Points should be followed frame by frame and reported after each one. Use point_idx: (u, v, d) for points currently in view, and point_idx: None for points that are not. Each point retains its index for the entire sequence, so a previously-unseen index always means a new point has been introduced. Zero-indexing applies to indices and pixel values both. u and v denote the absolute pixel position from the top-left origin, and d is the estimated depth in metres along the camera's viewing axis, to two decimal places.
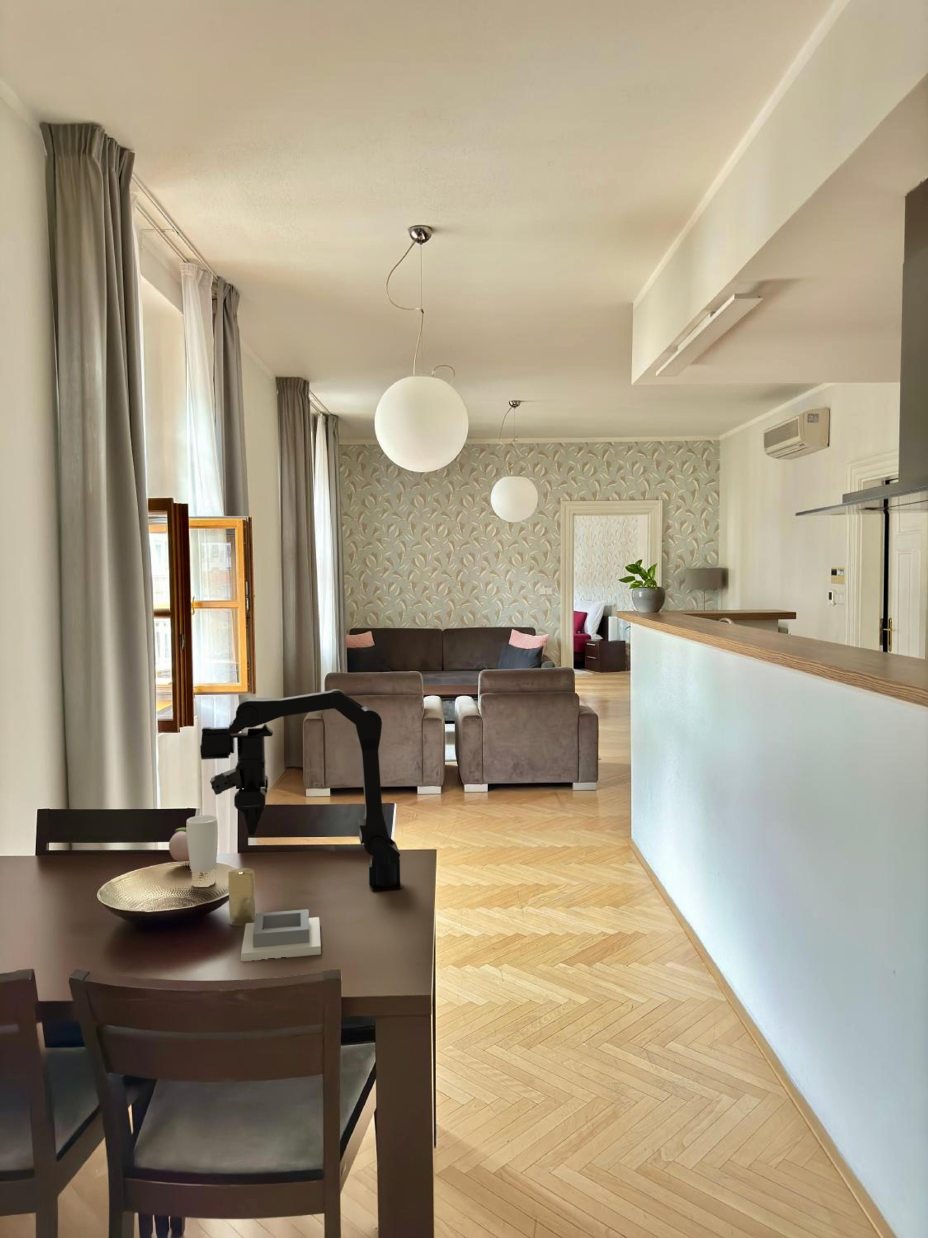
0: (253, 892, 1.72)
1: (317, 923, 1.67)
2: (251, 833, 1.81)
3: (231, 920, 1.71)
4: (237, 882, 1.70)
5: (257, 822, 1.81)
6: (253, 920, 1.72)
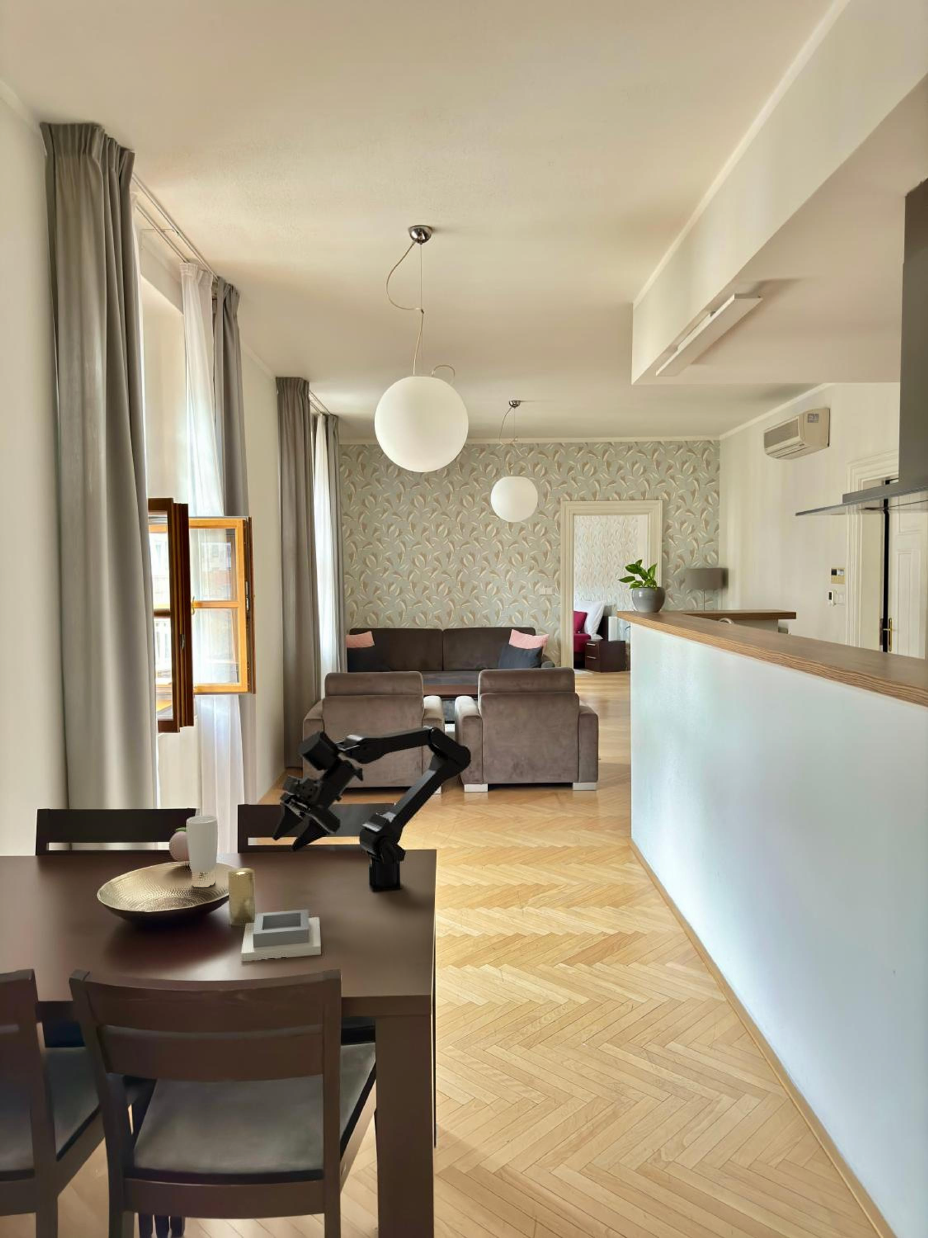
0: (253, 892, 1.72)
1: (317, 923, 1.67)
2: (294, 848, 1.74)
3: (231, 920, 1.71)
4: (237, 882, 1.70)
5: (307, 843, 1.75)
6: (253, 920, 1.72)
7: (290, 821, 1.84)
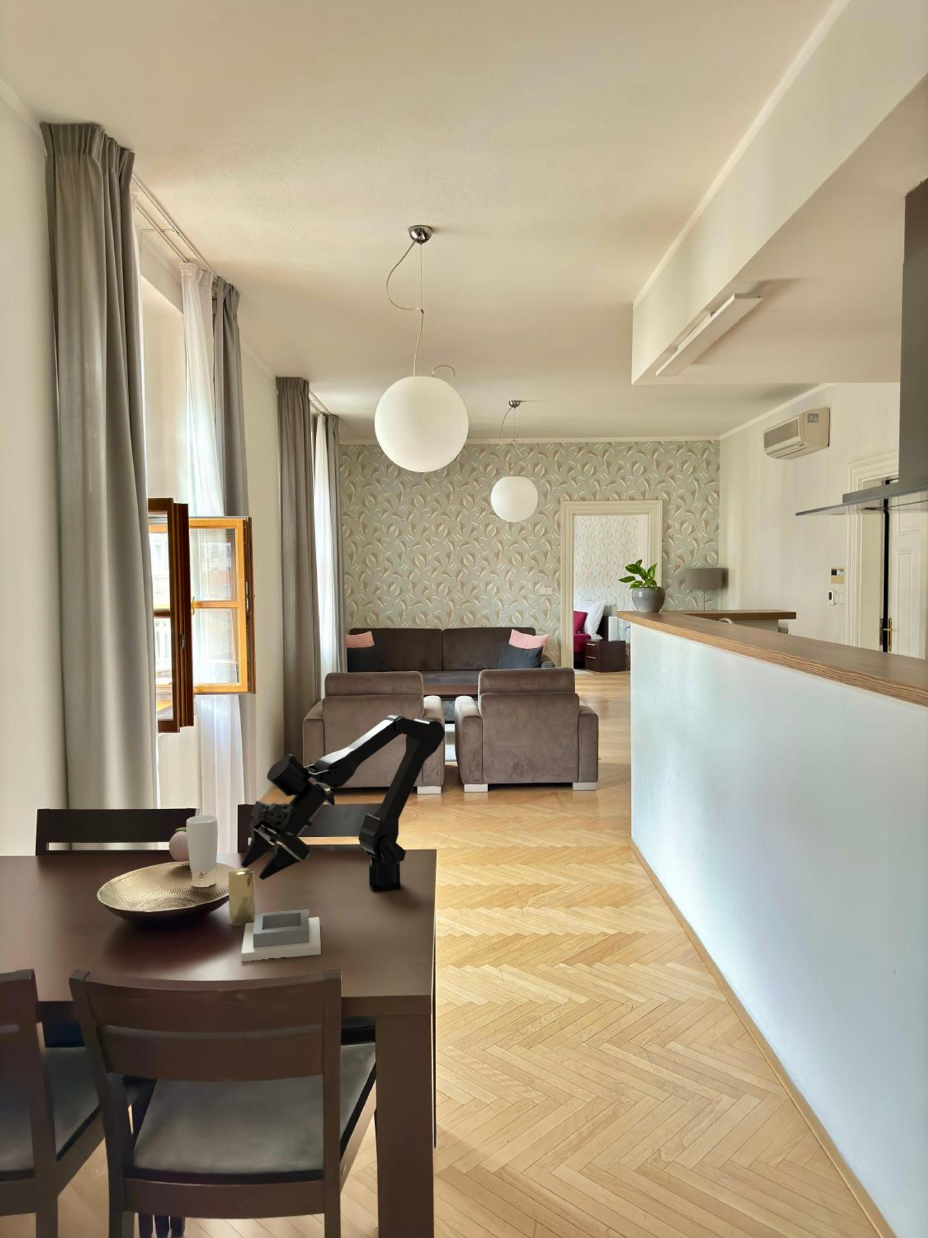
0: (253, 892, 1.72)
1: (317, 923, 1.67)
2: (262, 877, 1.70)
3: (231, 920, 1.71)
4: (237, 882, 1.70)
5: (276, 871, 1.71)
6: (253, 920, 1.72)
7: (260, 847, 1.79)
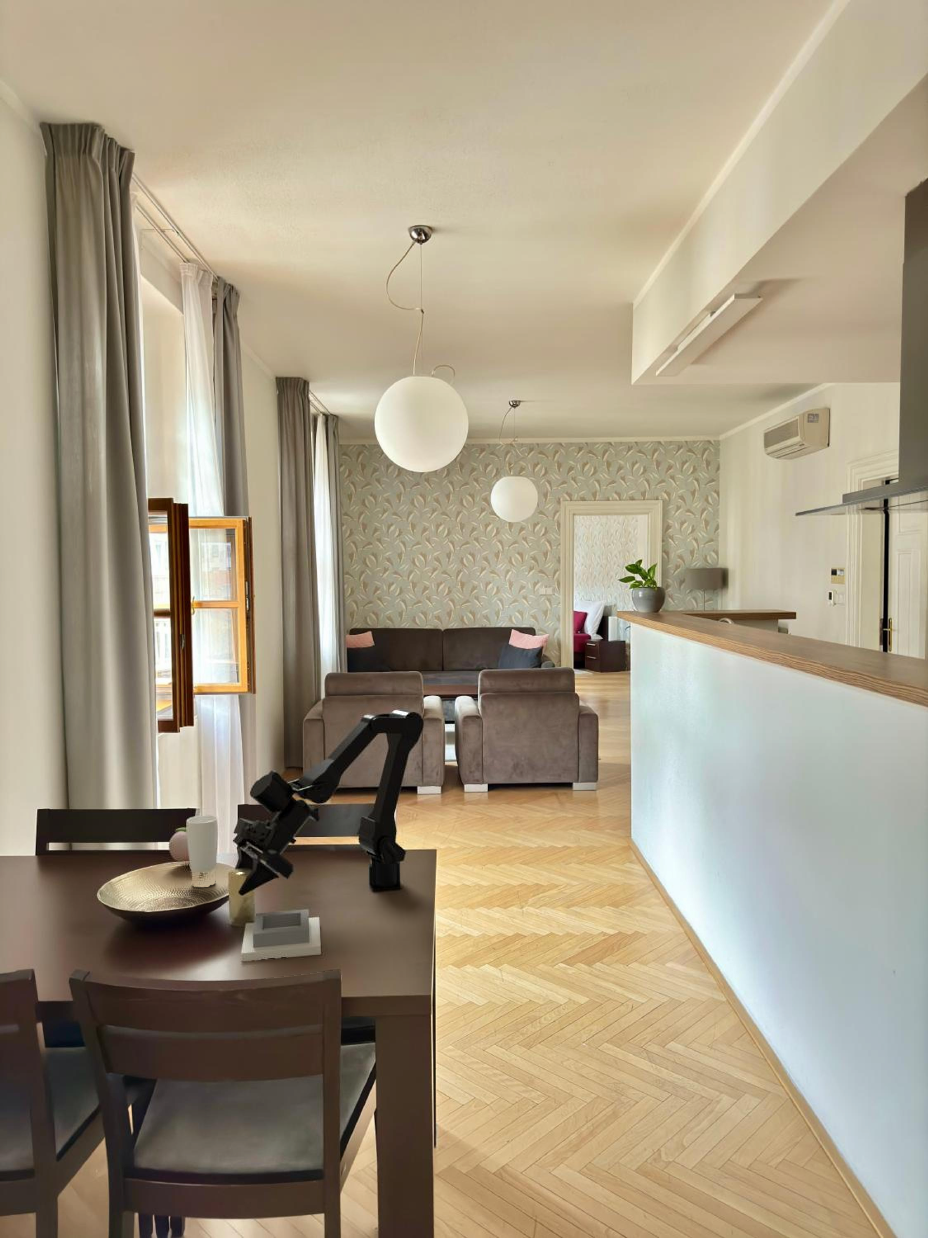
0: (253, 892, 1.72)
1: (317, 923, 1.67)
2: (242, 892, 1.69)
3: (231, 920, 1.71)
4: (237, 882, 1.70)
5: (256, 886, 1.70)
6: (253, 920, 1.72)
7: (247, 867, 1.76)
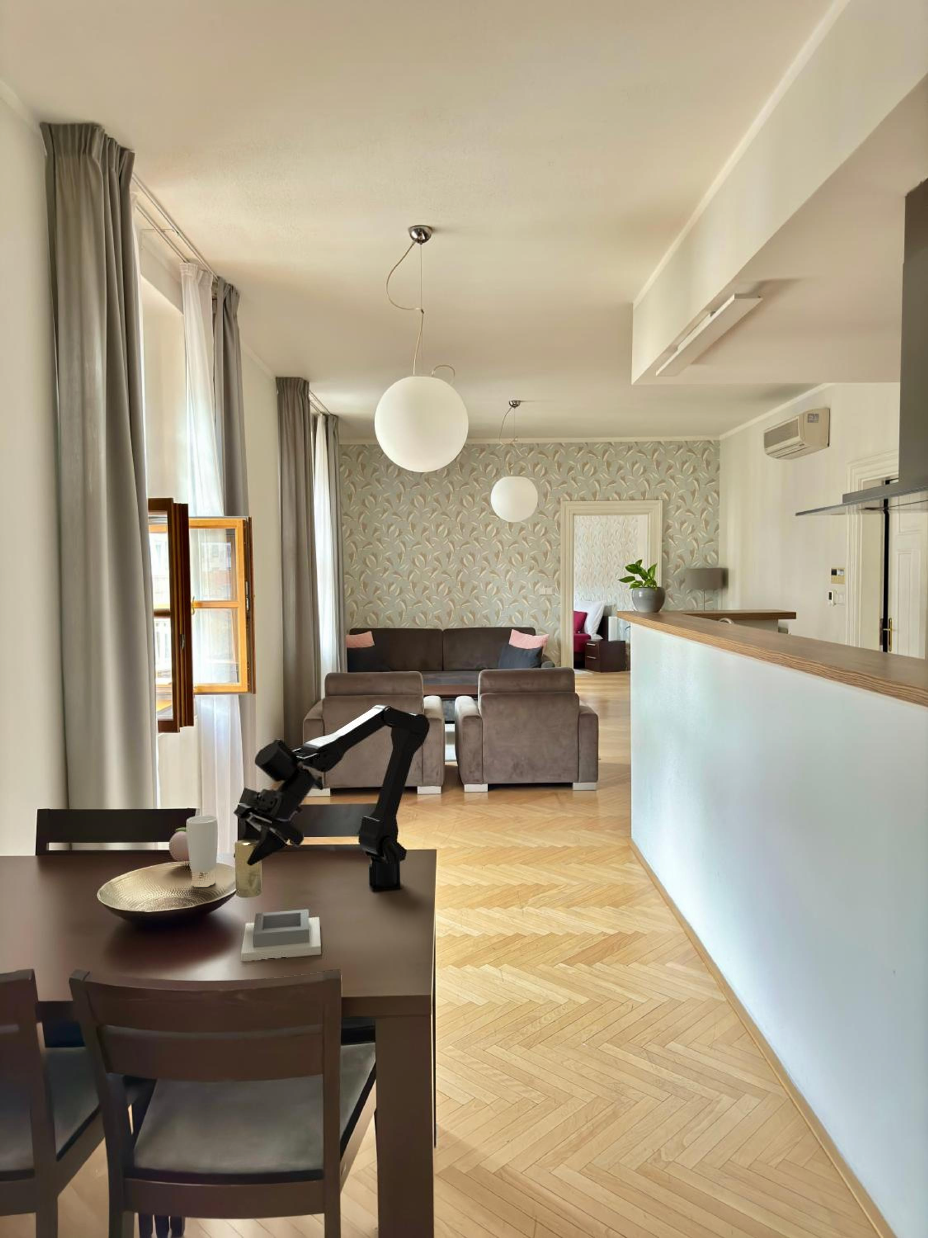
0: (260, 862, 1.69)
1: (317, 923, 1.67)
2: (250, 862, 1.66)
3: (238, 891, 1.67)
4: (245, 852, 1.66)
5: (264, 856, 1.67)
6: (261, 891, 1.69)
7: (252, 838, 1.73)
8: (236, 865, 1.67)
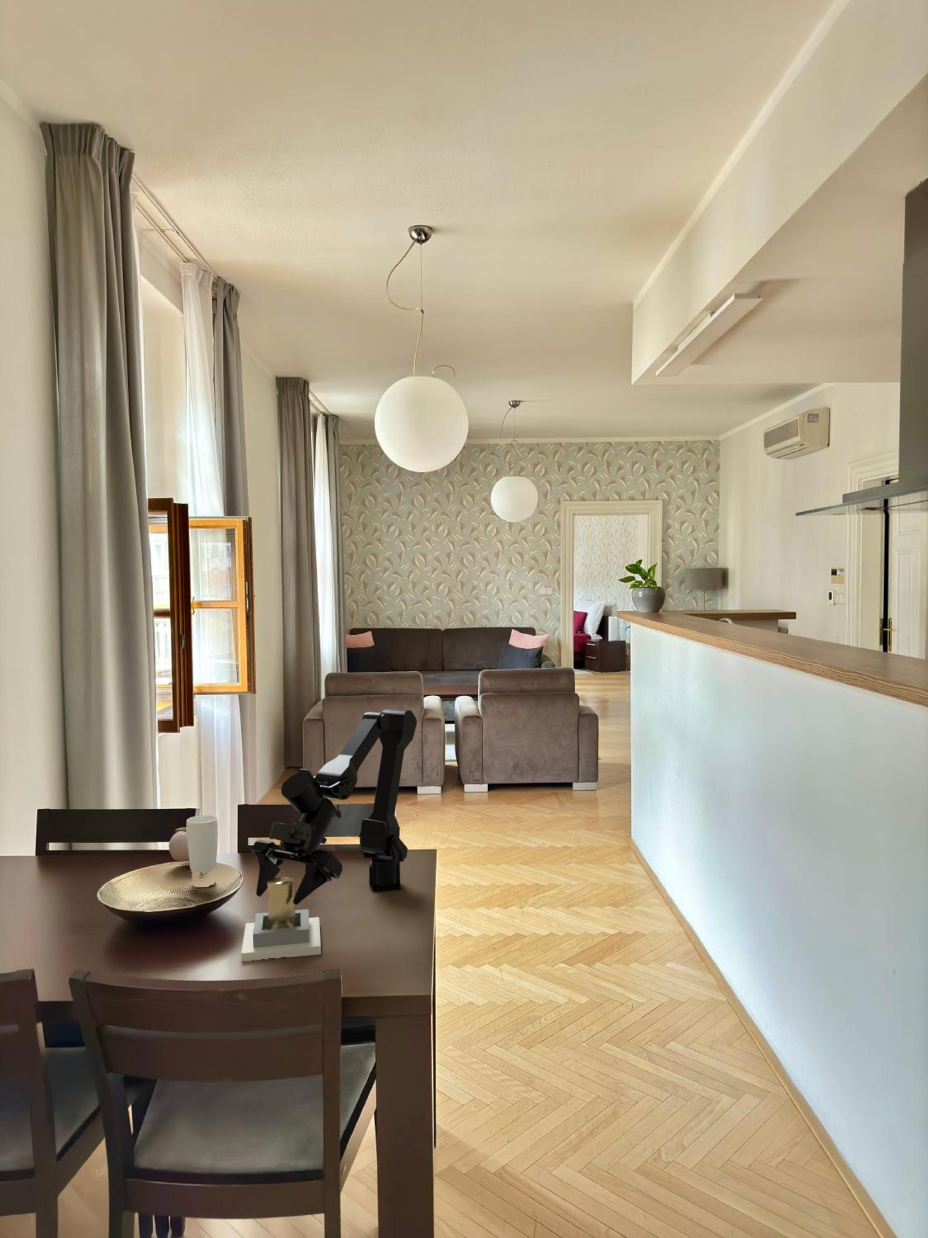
0: None
1: (317, 923, 1.67)
2: (297, 901, 1.59)
3: None
4: (283, 892, 1.59)
5: (309, 893, 1.60)
6: None
7: (270, 872, 1.66)
8: (272, 906, 1.60)
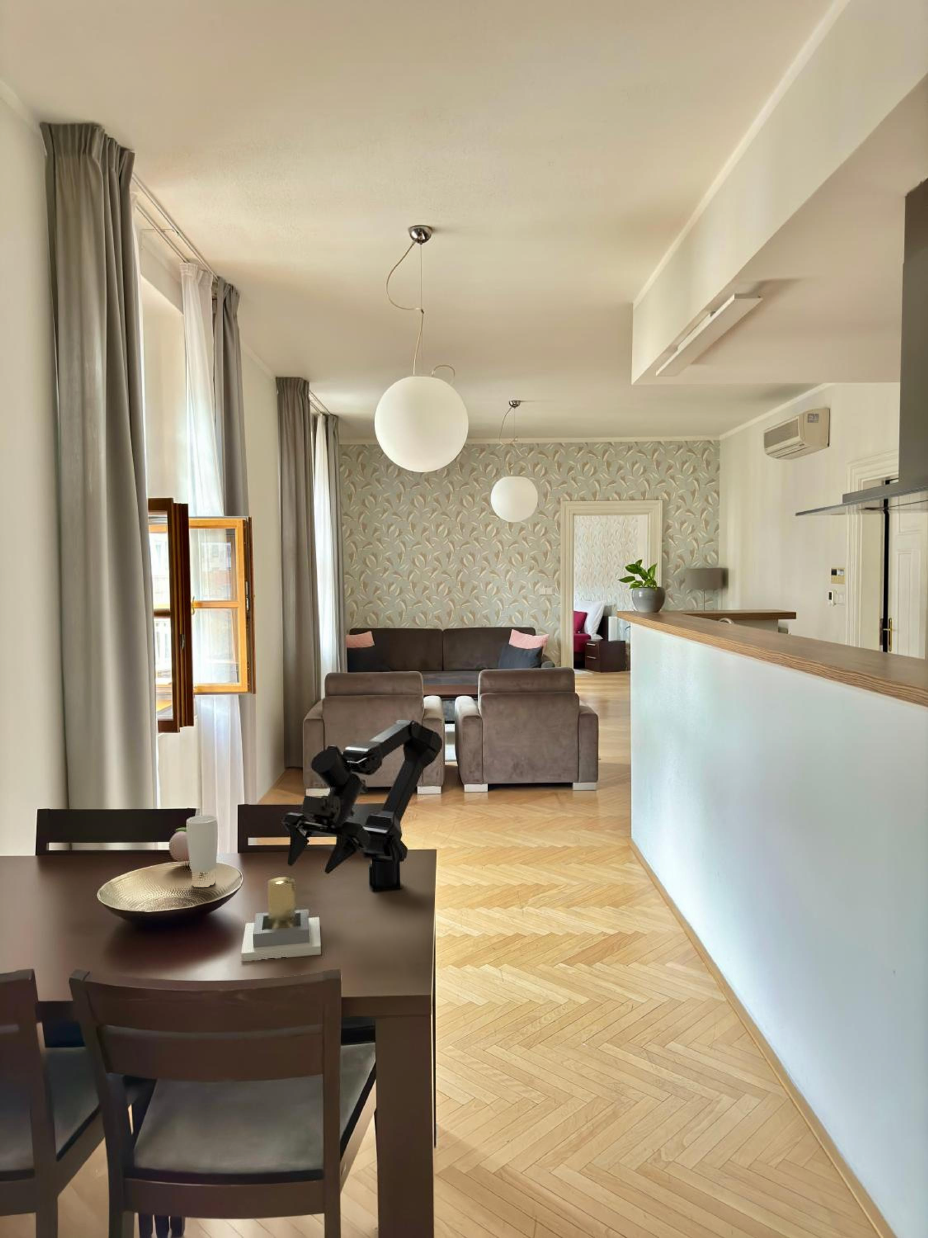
0: None
1: (317, 923, 1.67)
2: (328, 870, 1.67)
3: None
4: (283, 892, 1.60)
5: (339, 863, 1.68)
6: None
7: (300, 843, 1.74)
8: (272, 906, 1.60)
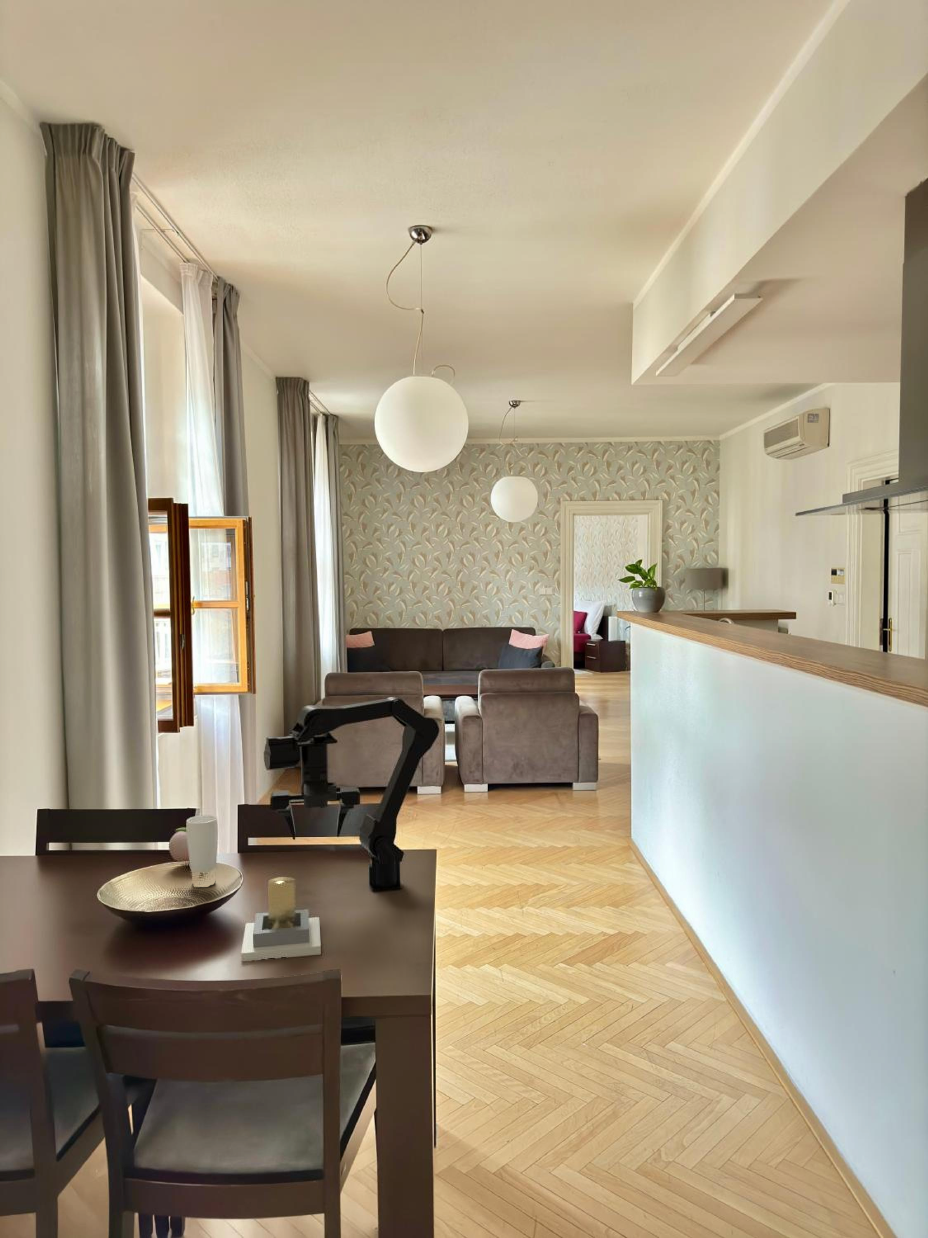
0: None
1: (317, 923, 1.67)
2: None
3: None
4: (283, 892, 1.60)
5: None
6: None
7: (292, 815, 1.84)
8: (272, 906, 1.60)
